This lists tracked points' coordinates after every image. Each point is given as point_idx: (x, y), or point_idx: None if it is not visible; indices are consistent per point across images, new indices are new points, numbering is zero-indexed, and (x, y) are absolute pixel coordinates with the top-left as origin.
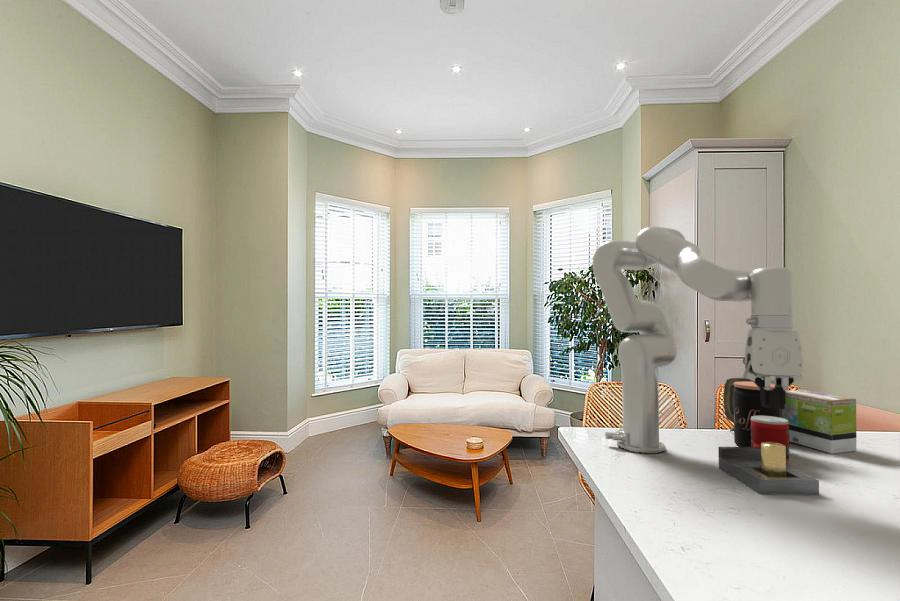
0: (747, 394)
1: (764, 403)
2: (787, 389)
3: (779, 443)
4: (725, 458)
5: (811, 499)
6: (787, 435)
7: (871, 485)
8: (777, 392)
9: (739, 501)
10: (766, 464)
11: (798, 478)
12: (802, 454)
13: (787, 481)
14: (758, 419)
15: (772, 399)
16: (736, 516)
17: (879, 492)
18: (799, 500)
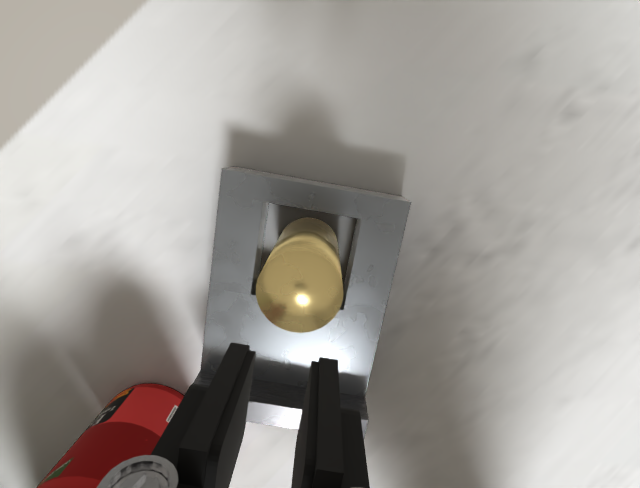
0: None
1: (358, 412)
2: (129, 462)
3: (123, 433)
4: (354, 395)
5: (284, 140)
6: (69, 456)
7: (9, 214)
8: (218, 482)
9: (506, 156)
10: (339, 260)
11: (273, 195)
12: (4, 464)
13: (323, 186)
14: None
15: (324, 400)
16: (610, 56)
17: (34, 161)
18: (326, 138)
